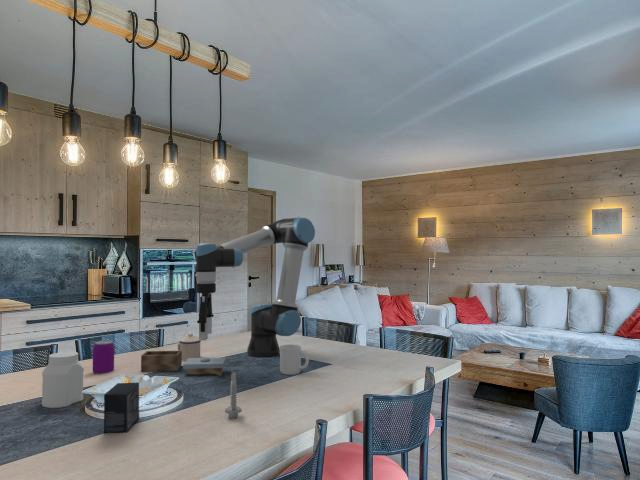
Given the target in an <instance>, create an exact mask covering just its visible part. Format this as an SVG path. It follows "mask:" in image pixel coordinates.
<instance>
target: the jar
mask: <svg viewBox="0 0 640 480" xmlns="http://www.w3.org/2000/svg"><path fill="white" fill-rule="evenodd" d="M84 369H85V367H84V366H83V364H81V362H80V361H79V353H78V352H77V351H61V352H60V351H59V352H55V353H51V354H49V355H48V364H47V365H46V366H45V368H44V369H43V370H42V373H41V375H42V384H41V385H42V387H41V388H42V390H41V392H42V394H41V406H42V407H43V408H49V409H56V408H57V409H58V408H65V407H70V406H71V405H73V404H75V403H79V402H82V401H84V371H85V370H84ZM82 391H83V393H82Z"/></svg>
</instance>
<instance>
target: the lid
mask: <svg viewBox="0 0 640 480" xmlns="http://www.w3.org/2000/svg"><path fill="white" fill-rule="evenodd" d="M226 362H227V357H224V356H223V357H200V358H188V359H187V360H186V361H184V362H183V364H182V369H183V370H187V369H198V368H223V369H224V368H225V364H226Z"/></svg>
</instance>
